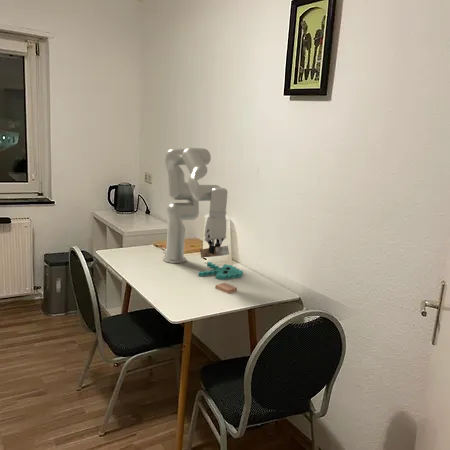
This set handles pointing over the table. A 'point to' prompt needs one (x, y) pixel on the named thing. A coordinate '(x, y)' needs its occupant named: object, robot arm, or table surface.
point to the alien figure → (222, 271)
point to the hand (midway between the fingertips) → (214, 252)
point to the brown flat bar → (215, 252)
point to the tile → (226, 287)
